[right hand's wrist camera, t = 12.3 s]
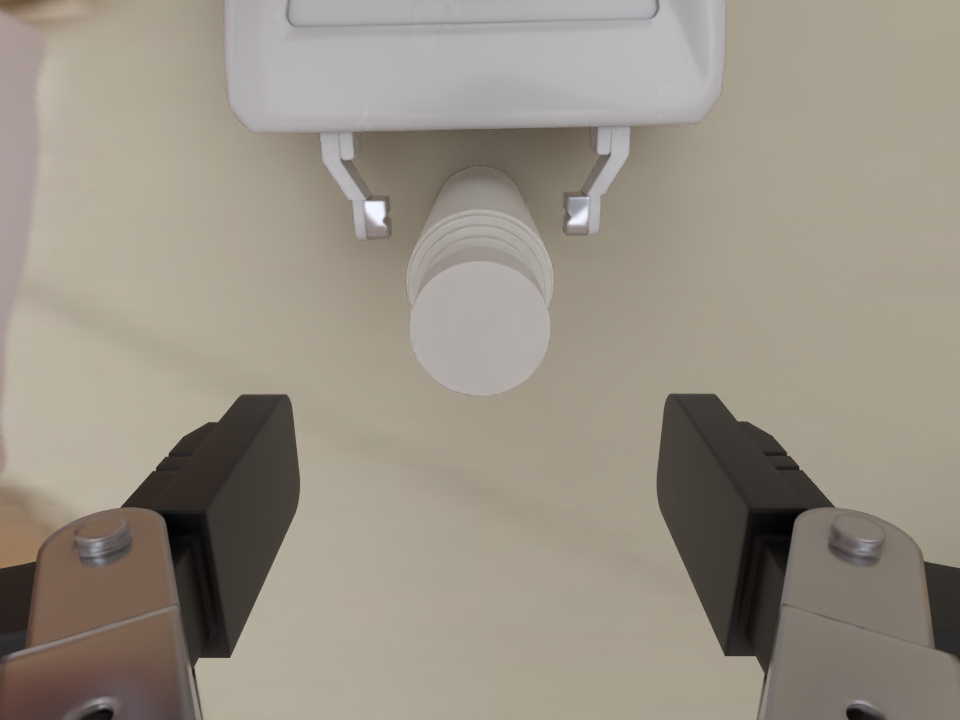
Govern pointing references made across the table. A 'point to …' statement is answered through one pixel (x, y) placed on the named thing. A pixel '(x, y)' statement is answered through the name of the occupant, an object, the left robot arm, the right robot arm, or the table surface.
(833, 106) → the table surface
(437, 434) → the table surface
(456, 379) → the cap
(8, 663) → the right robot arm
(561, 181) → the table surface
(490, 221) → the bottle
